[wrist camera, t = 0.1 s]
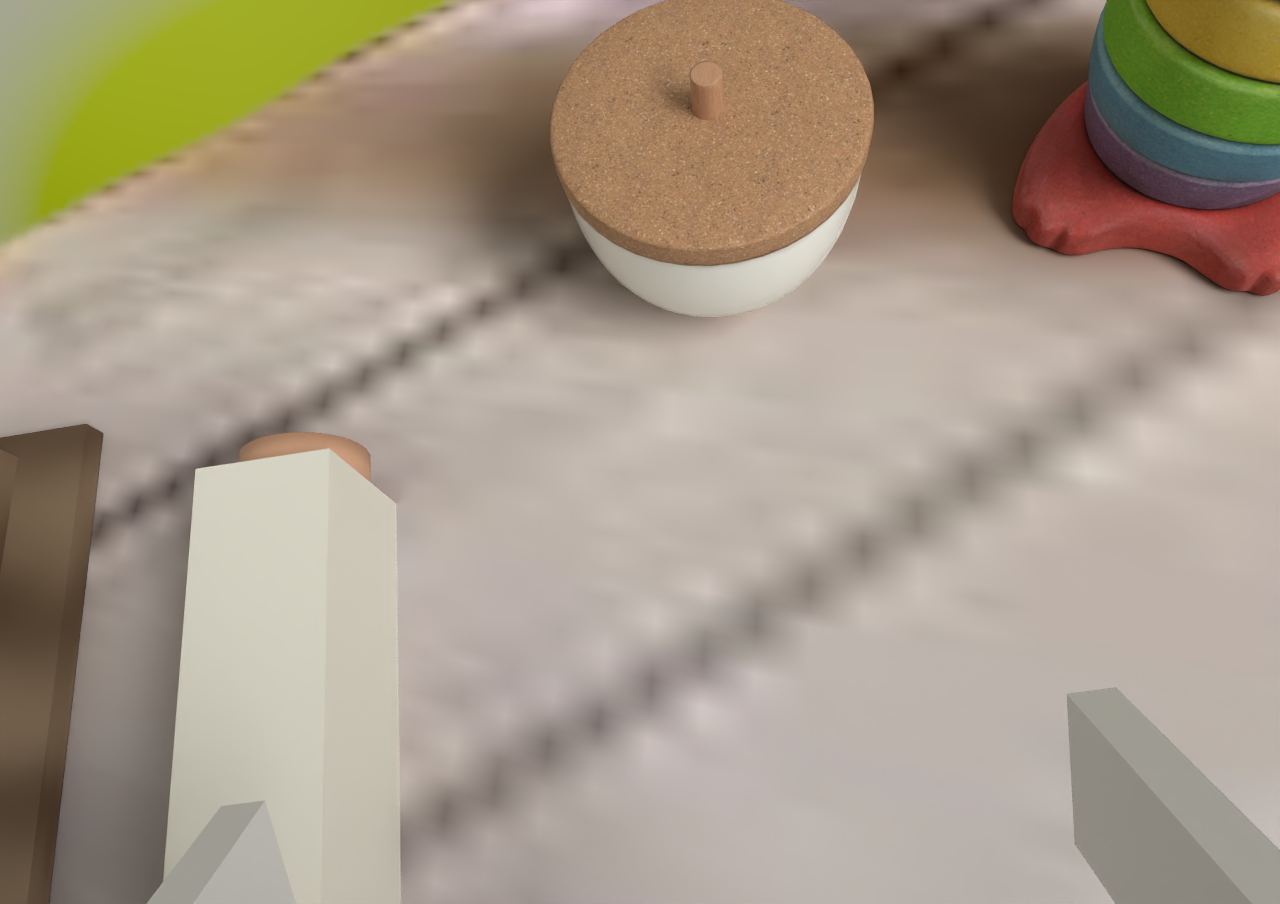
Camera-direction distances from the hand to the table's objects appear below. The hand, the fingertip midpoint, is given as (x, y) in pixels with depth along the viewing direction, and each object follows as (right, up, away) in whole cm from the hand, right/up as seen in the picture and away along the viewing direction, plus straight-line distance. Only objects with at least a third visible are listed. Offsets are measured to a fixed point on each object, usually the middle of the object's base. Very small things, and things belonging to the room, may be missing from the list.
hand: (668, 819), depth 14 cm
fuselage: (-11, -4, +17) cm, 20 cm away
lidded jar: (+3, +14, +22) cm, 27 cm away
